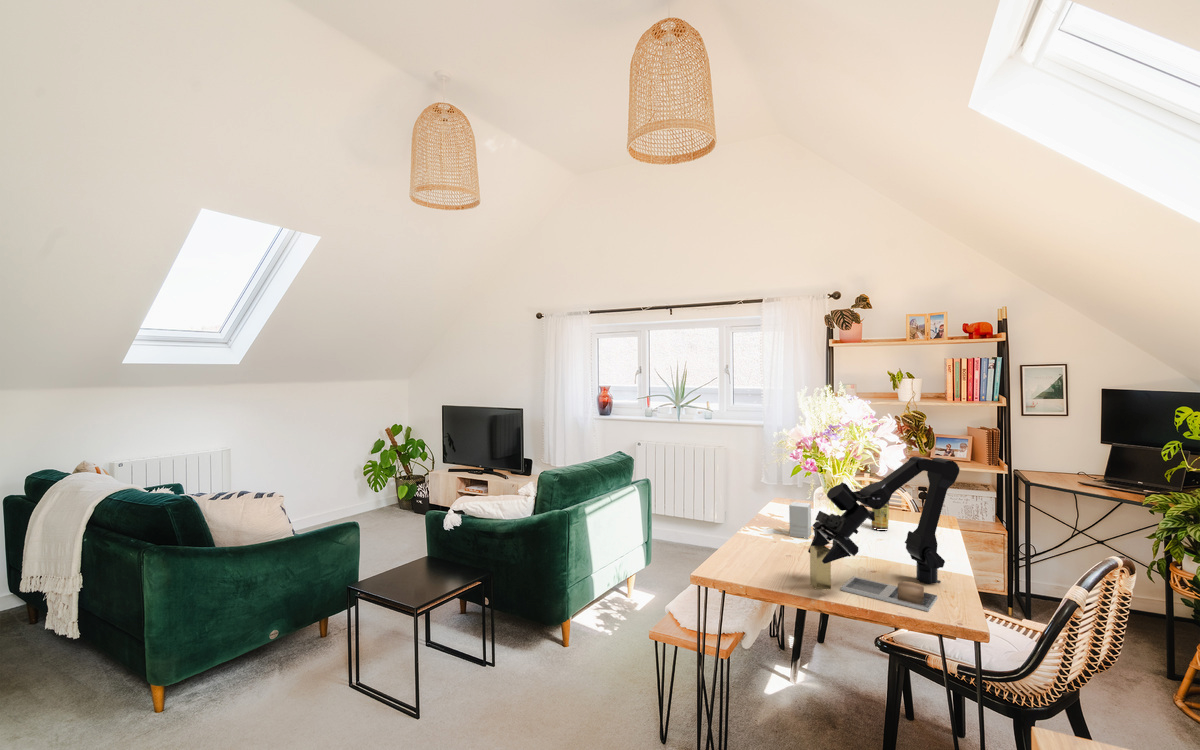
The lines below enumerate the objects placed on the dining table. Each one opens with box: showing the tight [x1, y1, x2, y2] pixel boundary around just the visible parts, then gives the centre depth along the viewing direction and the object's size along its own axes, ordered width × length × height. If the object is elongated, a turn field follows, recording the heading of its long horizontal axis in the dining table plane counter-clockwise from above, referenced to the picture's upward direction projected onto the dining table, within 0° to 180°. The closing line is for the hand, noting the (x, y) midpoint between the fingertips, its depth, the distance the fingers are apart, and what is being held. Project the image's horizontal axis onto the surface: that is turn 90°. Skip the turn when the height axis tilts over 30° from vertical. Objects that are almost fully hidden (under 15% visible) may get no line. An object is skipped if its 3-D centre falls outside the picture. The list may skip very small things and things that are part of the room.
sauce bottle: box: [871, 481, 890, 529], centre depth 237 cm, size 7×6×20 cm
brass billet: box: [809, 545, 832, 591], centre depth 174 cm, size 4×4×12 cm
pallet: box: [840, 576, 938, 612], centre depth 165 cm, size 12×23×2 cm, turn 49°
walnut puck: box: [897, 581, 925, 604], centre depth 162 cm, size 7×7×4 cm
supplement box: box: [788, 501, 812, 539], centre depth 229 cm, size 7×7×13 cm
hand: (815, 557), depth 174 cm, fingers open, 9 cm apart
